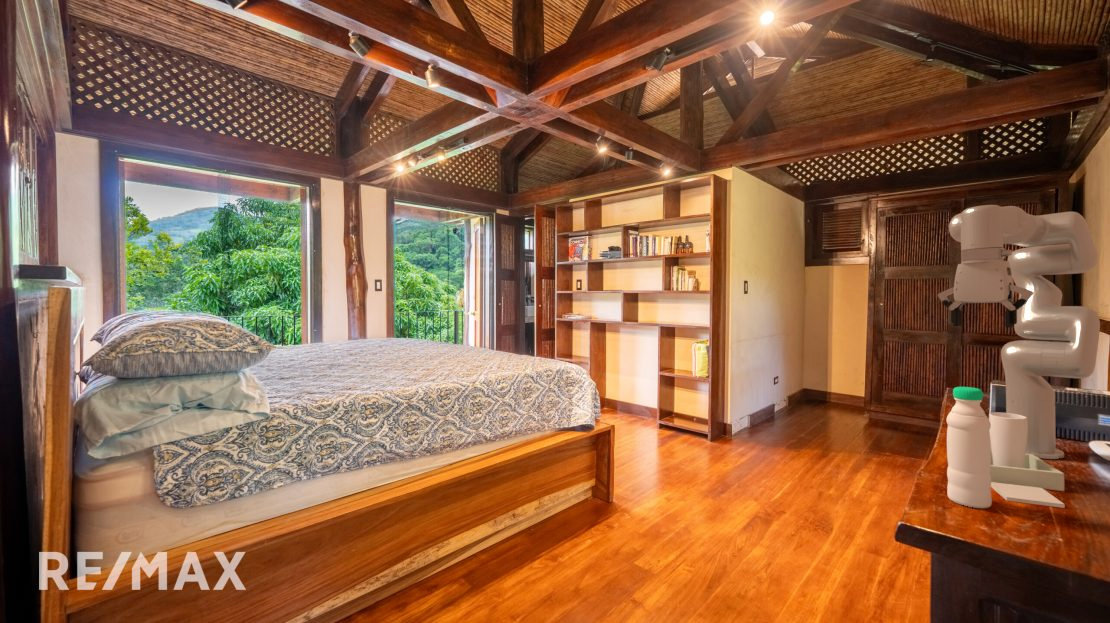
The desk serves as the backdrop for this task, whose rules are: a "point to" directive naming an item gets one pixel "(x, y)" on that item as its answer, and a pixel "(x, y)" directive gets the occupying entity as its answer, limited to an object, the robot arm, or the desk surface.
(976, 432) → the water bottle
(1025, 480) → the beige square frame
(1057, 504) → the ceramic tile
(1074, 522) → the desk surface
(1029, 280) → the robot arm
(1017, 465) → the drinking glass
